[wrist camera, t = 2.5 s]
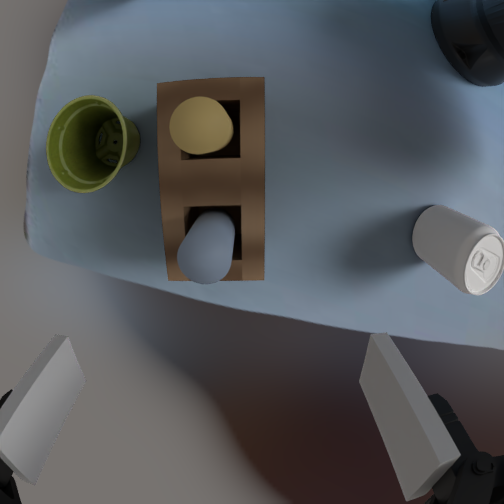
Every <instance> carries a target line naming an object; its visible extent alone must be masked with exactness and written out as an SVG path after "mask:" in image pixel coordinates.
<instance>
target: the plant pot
mask: <svg viewBox="0 0 504 504" xmlns="http://www.w3.org/2000/svg"><path fill="white" fill-rule="evenodd" d="M117 121H120V122H121V124H116V122H117ZM101 133H102V134H103V136H102V138H101V142H100V144H99V137H100V135H101ZM114 140H117V144H114ZM139 145H140V135H139V132H138V130H137V128H136V126H135V125H134V123H133V122H132V121H130V120H129V119H127V118H125V117H124V116H122V114H121V112H120V111H119V109H118V108H117V107H116V106H115V105H114V104H113V103H112V102H111V101H109V100H107V99H105V98H103V97H100V96H94V95H87V96H82V97H79V98H76V99H74V100H72V101H71V102H69V103H68V104H66V105H65V106H64V107H63V108H62V109H61V110H60V111H59V112H58V114H57V115H56V116H55V118H54V120H53V122H52V124H51V126H50V129H49V132H48V135H47V142H46V154H47V161H48V165H49V168H50V170H51V172H52V174H53V176H54V177H55V178H56V180H57V181H58V182H59V183H60V184H61V185H62V186H64V187H65V188H67V189H68V190H71V191H74V192H78V193H89V192H94V191H96V190H99V189H101V188H102V187H104V186H105V185H107V184H108V183H109V182H110V181H111V180H112V179H113V178H114V177H115V176H116V174H117V173H118V172H119V170H120V168H122V167H123V166H125V165H126V164H128V163H129V162H130V161H131V160H132V159H133V158H134V157H135V155H136V154H137V152H138V149H139ZM108 159H112V160H117V163H113V162H109V161H108Z"/></svg>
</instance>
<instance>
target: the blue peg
mask: <svg viewBox="0 0 504 504" xmlns="http://www.w3.org/2000/svg"><path fill="white" fill-rule="evenodd" d="M234 237H235V222H234V219H233V218H232V216H231V215H230V214H229V213H228V212H227V211H225V210H223V209H220V208H210V209H207V210H205V211H203V212H202V213H201V214H200V215H199V216H198V218H197V219H196V221H195V222H194V224H193V226H192V227H191V229H190V230H189V232H188V234H187V235H186V237H185V238H184V240H183V242H182V243H181V245H180V247H179V249H178V253H177V261H178V265H179V268H180V270H181V271H182V273H183V274H184V275H185V276H186V277H187V278H189V279H190V280H192V281H194V282H196V283H200V284H211V283H215V282H217V281H219V280H221V279H222V278H224V277H225V276H226V274H227V273H228V271H229V269H230V267H231V262H232V253H233V245H234Z"/></svg>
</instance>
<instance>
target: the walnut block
mask: <svg viewBox="0 0 504 504" xmlns="http://www.w3.org/2000/svg"><path fill="white" fill-rule="evenodd" d="M193 97H208V98H211V99H213V100H215V101H217V102H218V103H219V104H220V105H221V106H222V107H223V108H224V109H225V111H226V113H227V114H228V116H229V117H230V119H231V121H232V123H233V126H234V134H233V137H232V140H231V141H230V143H229V144H228V145H227V146H226V147H224V148H223V149H221V150H218V151H214V152H209V153H205V154H191V153H187V152H185V151H183V150H182V149H180V148H179V147H178V146H177V145H176V144H175V143H174V141H173V139H172V137H171V134H170V128H169V126H170V119H171V116H172V114H173V112H174V111H175V109H176V108H177V107H178V106H179V105H180V104H181V103H182V102H184V101H185V100H187V99H190V98H193ZM157 142H158V168H159V186H160V201H161V214H162V226H163V237H164V247H165V256H166V265H167V273H168V281H192V280H190V279H189V278H187V277H186V276H185V275H184V274H183V273H182V271H181V270H180V268H179V265H178V261H177V253H178V249H179V247H180V245H181V243H182V242H183V240H184V238H185V237H186V235H187V234H188V232H189V230H190V229H191V227H192V226H193V224H194V222H195V221H196V219H197V218H198V216H199V215H200V214H201V213H202V212H203V211H205V210H207V209H210V208H220V209H223V210H225V211H227V212H228V213H229V214H230V215H231V216H232V218H233V219H234V222H235V237H234V245H233V253H232V262H231V267H230V269H229V271H228V273H227V274H226V276H225V277H224V278H222V279H221V280H219V281H243V280H264V249H265V85H264V77H231V78H208V79H194V80H183V81H173V82H164V83H157Z"/></svg>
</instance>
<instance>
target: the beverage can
mask: <svg viewBox="0 0 504 504" xmlns="http://www.w3.org/2000/svg"><path fill="white" fill-rule="evenodd" d="M412 242H413V247H414V250H415V252H416V254H417V255H418V257H419V258H421V259H422V260H423V261H425V262H426V263H427V264H428V265H430V266H431V267H432V268H433V269H435V270H436V271H437V272H438V273H440V274H441V275H442V276H443V277H445V278H446V279H447V280H448V281H450V282H451V283H452V284H453V285H454V286H456V287H457V288H458V289H459V290H460V291H462V292H464V293H467V294H473V295H481V294H484V293H486V292H488V291H489V290H490V289H491V288H492V287H493V286H494V285H495V284H496V283H497V281H498V280H499V278H500V276H501V274H502V272H503V270H504V240H503V239H502V238H501V237H500V235H499V233H498V232H497V231H496V230H495V229H494V228H493V227H491V226H489V225H487V224H485V223H482V222H480V221H478V220H476V219H474V218H471V217H469V216H467V215H465V214H462V213H460V212H458V211H455V210H453V209H451V208H448V207H446V206H443V205H435V206H431V207H429V208H428V209H426V210H425V211H424V212H423V213H422V214H421V215H420V216H419V218H418V220H417V221H416V223H415V226H414V229H413V235H412Z"/></svg>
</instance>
